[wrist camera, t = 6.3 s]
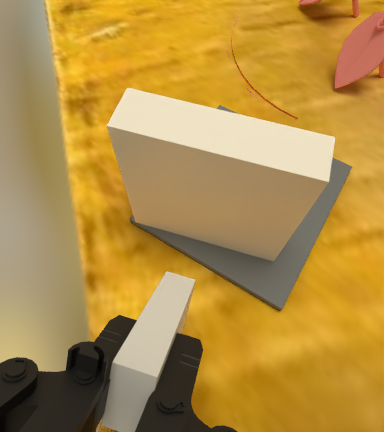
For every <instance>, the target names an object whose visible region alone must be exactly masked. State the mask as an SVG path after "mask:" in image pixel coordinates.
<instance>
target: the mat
mask: <svg viewBox="0 0 384 432" xmlns="http://www.w3.org/2000/svg"><path fill="white" fill-rule="evenodd" d="M217 109H219V110H223V111H227V112H232V113H236V112H233V111H231V110H229V109H227V108H225V107H223V106H221V105H219V107H218V108H217ZM236 114H238V113H236ZM351 168H352V167H351V166H349V165H347V164H345V163H343V162H341V161H339V160H336V159H334V158H332V164H331V171H330V178H329V183H328V184H327V186H326V187H325V189H324V190H323V191H322V193H321V194H320V196H319V197H318V199H317V200H316V201H315V203H314V204H313V206H312V207H311V209H310V210H309V211H308V213H307V214H306V216H305V217H304V219H303V220H302V222H301V223H300V224H299V226H298V227H297V229H296V230H295V232H294V233H293V234H292V236H291V237H290V239H289V240H288V242H287V243H286V245H285V246H284V247H283V249H282V250H281V252H280V253H279V255H278V256H277V257H276V259H275V260H274V262H273V261H270V260H266V259H263V258H259V257H256V256H252V255H248V254H245V253H241V252H238V251H234V250H231V249H227V248H224V247H220V246H217V245H213V244H210V243H206V242H203V241H199V240H196V239H192V238H189V237H185V236H182V235H178V234H175V233H171V232H168V231H164V230H161V229H157V228H154V227H150V226H147V225H143V224H140V223H136V222H135V219H134V216H133V215H132V217H131V218H130V221H131V223H133V224H134V225H136V226H138V227H139V228H141V229H143V230H144V231H146V232H148V233H149V234H151V235H153V236H155V237H156V238H158V239H160V240H161V241H163V242H165V243H166V244H168V245H170V246H171V247H173V248H175V249H176V250H178V251H180V252H181V253H183V254H185V255H186V256H188V257H190V258H192V259H193V260H195V261H197V262H198V263H200V264H202V265H203V266H205V267H207V268H208V269H210V270H212V271H213V272H215V273H217V274H218V275H220V276H222V277H223V278H225V279H227V280H229V281H230V282H232V283H234V284H235V285H237V286H239V287H240V288H242V289H244V290H245V291H247V292H249V293H250V294H252V295H254V296H255V297H257V298H259V299H260V300H262V301H264V302H266V303H267V304H269V305H271V306H272V307H274V308H276V309H277V310H279V311H280V310H282V308H283V306H284V304H285V302H286V300H287V298H288V296H289V294H290V292H291V290H292V288H293V286H294V284H295V282H296V280H297V278H298V276H299V274H300V272H301V270H302V268H303V266H304V264H305V262H306V260H307V258H308V256H309V254H310V251H311V249H312V247H313V245H314V243H315V241H316V239H317V237H318V235H319V233H320V231H321V229H322V227H323V225H324V223H325V221H326V219H327V217H328V215H329V213H330V211H331V209H332V207H333V205H334V203H335V201H336V199H337V197H338V195H339V192H340V190H341V188H342V186H343V184H344V182H345V180H346V178H347V176H348V174H349V172H350V170H351Z"/></svg>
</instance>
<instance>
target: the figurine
mask: <svg viewBox="0 0 384 432" xmlns="http://www.w3.org/2000/svg"><path fill="white" fill-rule="evenodd" d="M319 1H321V0H300V1H299V3H298V4H299V5H310V4H316V3H318V2H319ZM310 2H312V3H310ZM306 3H307V4H306ZM352 5H353V16H354V17H356V16H358V15H359V7H358V0H352ZM237 19H238V18H237ZM236 21H237V20H236ZM235 23H236V22H235ZM234 25H235V24H234ZM233 28H234V27H233ZM231 39H232V38H231ZM227 52H228V51H227ZM232 52H233V50H232ZM228 56H229V55H228ZM233 56H234V54H233ZM229 59H230V58H229ZM234 59H235V57H234ZM235 63H236V61H235ZM236 65H237V63H236ZM378 66H379V76H380V77H384V11H382V12H377V13H373V14H372V15H371V16H370V17H368V18H367V19H366V20H365V21H363V22H362V23H361V24H360V25H358V26H357V27H356V28H355V29H354V30H353V31H352V33H351V34H350V35H349V36H348V37H347V39H346V40H345V42H344V44H343V47H342V49H341V51H340V54H339V56H338V61H337V68H336V74H335V89H337V88H340V87H343V86H346V85H348V84H350V83H352V82H355V81H357V80H359V79H361V78H363V77H365V76H367V75H368V74H369V73H370V72H372V71H373V70H374V69H375V68H377V67H378ZM237 67H238V65H237ZM238 69H239V67H238ZM239 70H240V69H239ZM240 72H241V71H240ZM241 74H242V73H241ZM242 76H243V74H242ZM243 77H244V76H243ZM244 79H245V80H246V78H245V77H244ZM246 81H247V80H246ZM247 82H248V81H247ZM248 84H249V85H250V83H249V82H248ZM250 86H251V85H250ZM251 88H252V89H254V88H253V87H252V86H251ZM247 90H248V89H247ZM254 90H255V89H254ZM248 91H249V90H248ZM255 91H256V90H255ZM249 92H250V93H252V92H251V91H249ZM256 92H257V91H256ZM257 93H258V92H257ZM252 94H253V93H252ZM258 94H259V93H258ZM253 95H254V94H253ZM259 95H260V96H261V97H262V98H263V99H264V100H266V99H265V98H264V97H263V96H262V95H261V94H259ZM254 96H255V95H254ZM255 97H256V96H255ZM256 98H257V97H256ZM266 101H267V102H269V101H268V100H266ZM269 103H270V104H271V105H273V106H274V107H276V106H275V105H274V104H272V103H271V102H269ZM276 108H277V109H279V108H278V107H276ZM279 110H280V111H282V112H284V113H286V114H288V115H290V116H292V115H291V114H289V113H287V112H285V111H283V110H281V109H279ZM292 117H294V116H292ZM294 118H295V119H298V118H296V117H294Z"/></svg>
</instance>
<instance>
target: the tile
mask: <svg viewBox="0 0 384 432" xmlns="http://www.w3.org/2000/svg"><path fill="white" fill-rule="evenodd" d="M107 128H108V131H109V135H110V138H111V142H112V145H113V148H114V152H115V155H116V158H117V162H118V165H119V169H120V172H121V175H122V179H123V182H124V185H125V189H126V192H127V196H128V199H129V202H130V206H131V209H132V212H133V216H134V219H135V222H136V223H140V224H143V225H147V226H150V227H154V228H157V229H161V230H164V231H168V232H171V233H175V234H178V235H182V236H185V237H189V238H192V239H196V240H199V241H203V242H206V243H210V244H213V245H217V246H220V247H224V248H227V249H231V250H234V251H238V252H241V253H245V254H248V255H252V256H256V257H259V258H263V259H266V260H270V261H273V262H274V260H275V259H276V257H277V256H278V255H279V253H280V252H281V250H282V249H283V247H284V246H285V245H286V243H287V242H288V240H289V239H290V237H291V236H292V234H293V233H294V232H295V230H296V229H297V227H298V226H299V224H300V223H301V222H302V220H303V219H304V217H305V216H306V214H307V213H308V211H309V210H310V209H311V207H312V206H313V204H314V203H315V201H316V200H317V199H318V197H319V196H320V194H321V193H322V191H323V190H324V189H325V187H326V186H327V184H328V183H329V178H330V171H331V164H332V157H333V150H334V143H335V137H332V136H328V135H324V134H320V133H316V132H311V131H307V130H303V129H299V128H295V127H290V126H286V125H282V124H278V123H274V122H269V121H265V120H261V119H257V118H253V117H248V116H244V115H240V114H236V113H232V112H227V111H223V110H219V109H215V108H211V107H206V106H202V105H198V104H194V103H190V102H185V101H181V100H177V99H173V98H169V97H164V96H160V95H156V94H152V93H148V92H144V91H139V90H135V89H131V88H127V89H126V91H125V93H124V95H123V97H122V99H121V100H120V102H119V104H118V106H117V108H116V110H115V111H114V113H113V115H112V117H111V119H110V121H109V123H108V124H107Z"/></svg>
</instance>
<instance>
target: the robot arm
mask: <svg viewBox="0 0 384 432" xmlns="http://www.w3.org/2000/svg"><path fill="white" fill-rule="evenodd" d="M195 281H196V280H195V279H191V278H188V277H185V276H181V275H178V274H174V273H171V272H168V271H166V273H165V275H164V277H163V278H162V280H161V282H160V283H159V285H158V287H157V288H156V290H155V292H154V293H153V295H152V297H151V298H150V300H149V302H148V303H147V305H146V307H145V308H144V310H143V312H142V313H141V315H140V317H139V318H138V320H134V319H130V318H127V317H124V316H121V315H119V316H117V317H115V318H113V319H112V320H110V321H109V322H108V324H107V325H106V326H105V328H104V330H103V331H102V332H101V333H100V335H99V337H97V339H96V340H95V342H90V341H89V342H80V343H78V344H75V345H73V346H72V347H71V348H70V349H69V350H68V357H67V366H66V370H65V371H61V372H42V371H38V367H37V365H36V364H35V363H34V362H33V361H32V360H29V359H27V358H18V357H17V358H12V359H8V360H6V361H4V362H2V363H0V432H96V427H97V425H98V424H99V422H100V420H101V418H102V422H101V426H104V427H107V428H110V429H113V430H115V431H118V432H237V431H236V430H234V429H233V428H230V427H227V426H215V427H213V428H212V429H211V428H209V427H208V426H207V425H205V424H204V423H203V422H202V421H200V420H199V419H198V418H197V416H196V415H195V414H194V412H193V409H192V406H191V396H192V392H193V388H194V384H195V380H196V376H197V372H198V368H199V364H200V360H201V356H202V352H203V348H202V345H201V341H200V340H199V339H196V338H193V337H190V336H187V335H183V334H181V333H182V330H183V327H184V324H185V320H186V316H187V312H188V308H189V304H190V300H191V296H192V293H193V289H194V285H195ZM102 416H103V417H102Z"/></svg>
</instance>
